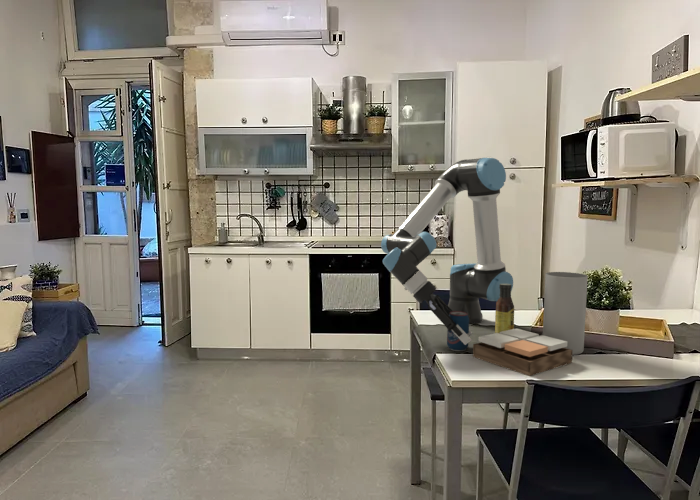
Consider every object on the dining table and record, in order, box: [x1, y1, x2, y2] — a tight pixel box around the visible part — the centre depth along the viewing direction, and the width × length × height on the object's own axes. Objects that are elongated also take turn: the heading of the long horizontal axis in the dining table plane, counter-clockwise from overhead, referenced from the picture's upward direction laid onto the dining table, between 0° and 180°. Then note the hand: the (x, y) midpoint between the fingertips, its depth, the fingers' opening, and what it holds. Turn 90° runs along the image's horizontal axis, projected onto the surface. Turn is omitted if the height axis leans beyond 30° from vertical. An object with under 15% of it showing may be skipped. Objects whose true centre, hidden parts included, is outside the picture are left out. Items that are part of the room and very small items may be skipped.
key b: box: [478, 332, 519, 348], centre depth 154 cm, size 8×8×2 cm
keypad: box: [472, 342, 573, 377], centre depth 153 cm, size 21×21×4 cm
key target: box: [505, 340, 548, 357], centre depth 145 cm, size 8×8×2 cm
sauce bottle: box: [494, 284, 515, 334], centre depth 173 cm, size 7×6×20 cm
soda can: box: [446, 311, 470, 352], centre depth 163 cm, size 7×7×12 cm
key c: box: [526, 334, 567, 351], centre depth 151 cm, size 8×8×2 cm
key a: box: [500, 328, 540, 341], centre depth 159 cm, size 8×8×2 cm
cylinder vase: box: [542, 271, 589, 356], centre depth 162 cm, size 12×12×25 cm
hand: (468, 339), depth 163 cm, fingers closed on soda can, 7 cm apart
